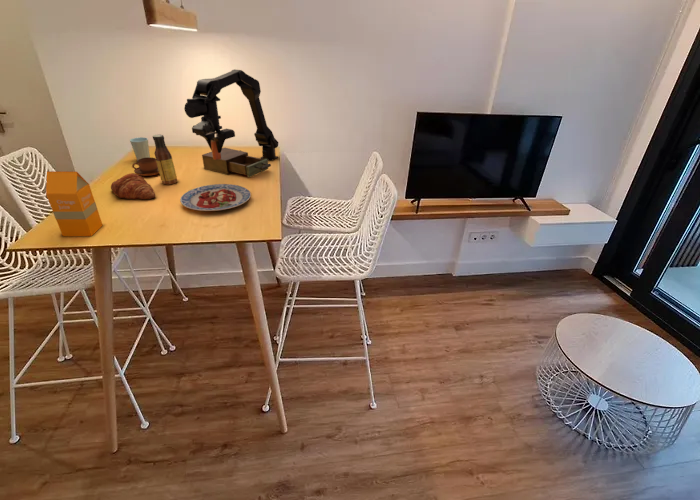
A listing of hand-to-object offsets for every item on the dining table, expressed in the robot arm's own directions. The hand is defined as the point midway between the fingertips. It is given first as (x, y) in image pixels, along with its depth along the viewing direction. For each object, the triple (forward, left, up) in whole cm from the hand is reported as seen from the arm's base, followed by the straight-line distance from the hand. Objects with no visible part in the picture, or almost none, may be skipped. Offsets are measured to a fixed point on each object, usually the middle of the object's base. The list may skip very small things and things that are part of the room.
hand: (216, 151), depth 163 cm
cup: (+2, -47, -12) cm, 49 cm away
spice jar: (0, 0, -3) cm, 3 cm away
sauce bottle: (+15, -14, -12) cm, 24 cm away
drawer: (-13, +7, -11) cm, 19 cm away
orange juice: (+59, -2, -12) cm, 60 cm away
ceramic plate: (+19, +17, -12) cm, 28 cm away
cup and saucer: (+12, -30, -12) cm, 35 cm away
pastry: (+31, -15, -12) cm, 37 cm away
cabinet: (-13, -8, -12) cm, 20 cm away
